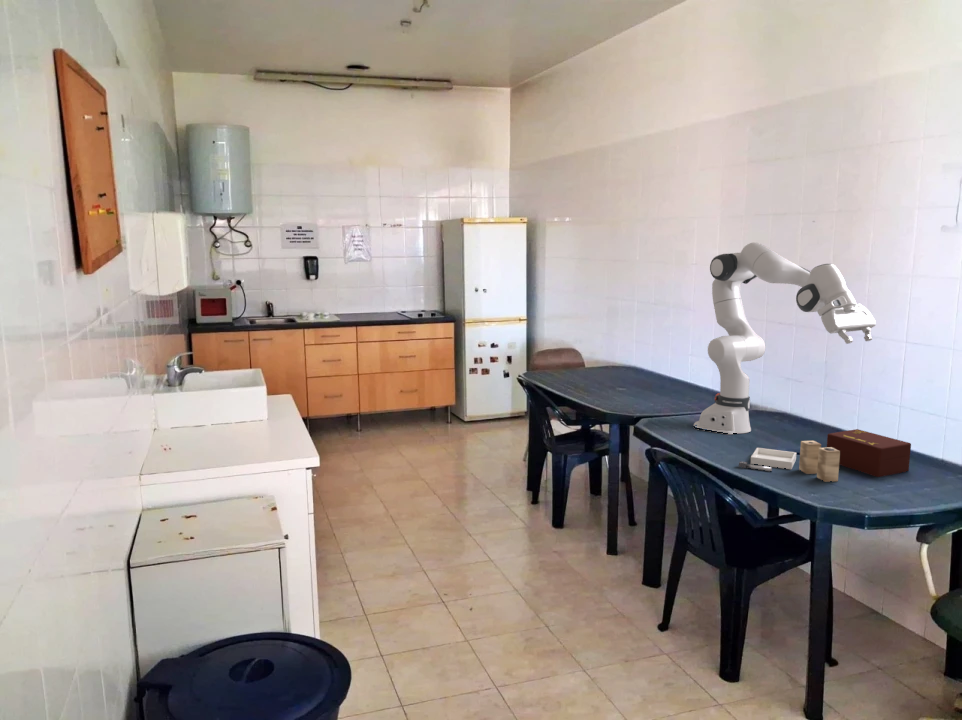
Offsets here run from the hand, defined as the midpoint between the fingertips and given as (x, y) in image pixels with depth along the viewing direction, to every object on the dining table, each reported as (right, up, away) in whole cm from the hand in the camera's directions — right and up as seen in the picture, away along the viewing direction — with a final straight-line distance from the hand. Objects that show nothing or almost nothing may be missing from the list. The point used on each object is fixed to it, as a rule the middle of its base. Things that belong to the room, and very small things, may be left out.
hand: (859, 341), depth 243 cm
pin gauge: (-33, -43, +4) cm, 55 cm away
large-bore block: (-14, -45, -6) cm, 47 cm away
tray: (-24, -42, +13) cm, 50 cm away
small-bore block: (-16, -43, +2) cm, 46 cm away
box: (+7, -43, +8) cm, 44 cm away
